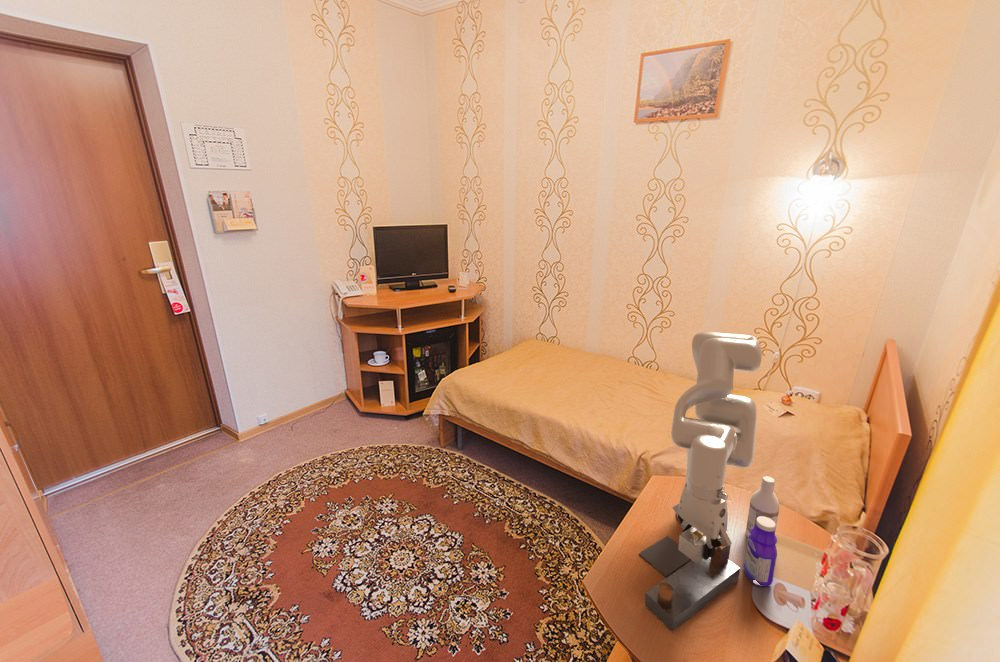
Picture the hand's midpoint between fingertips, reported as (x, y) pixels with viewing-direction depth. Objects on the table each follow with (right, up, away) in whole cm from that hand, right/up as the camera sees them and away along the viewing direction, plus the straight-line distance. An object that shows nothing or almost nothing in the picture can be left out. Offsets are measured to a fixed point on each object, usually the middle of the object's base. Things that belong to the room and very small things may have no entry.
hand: (697, 548), depth 100 cm
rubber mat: (-2, -10, +14) cm, 17 cm away
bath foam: (+27, -7, +19) cm, 34 cm away
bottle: (+19, -11, +7) cm, 23 cm away
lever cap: (0, 0, 0) cm, 0 cm away
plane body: (0, -13, +3) cm, 13 cm away
